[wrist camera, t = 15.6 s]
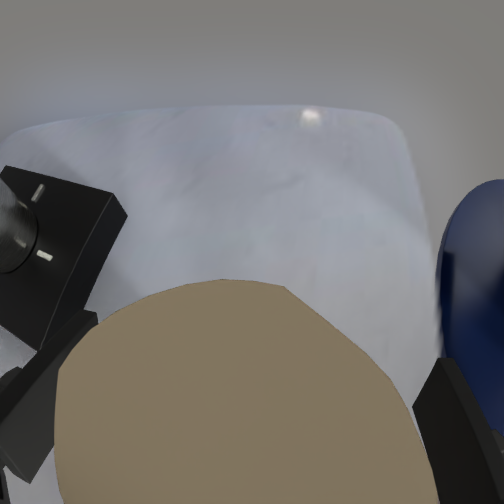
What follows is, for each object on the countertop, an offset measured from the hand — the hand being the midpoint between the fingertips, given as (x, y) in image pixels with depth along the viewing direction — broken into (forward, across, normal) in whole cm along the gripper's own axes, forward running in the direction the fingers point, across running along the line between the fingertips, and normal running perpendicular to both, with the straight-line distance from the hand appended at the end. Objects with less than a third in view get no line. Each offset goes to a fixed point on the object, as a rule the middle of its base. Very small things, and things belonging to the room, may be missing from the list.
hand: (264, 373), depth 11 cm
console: (+8, -18, -2) cm, 20 cm away
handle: (+3, 0, -7) cm, 8 cm away
